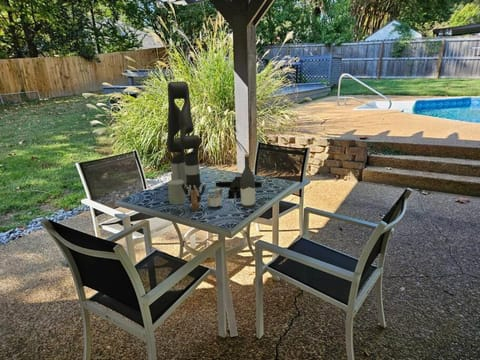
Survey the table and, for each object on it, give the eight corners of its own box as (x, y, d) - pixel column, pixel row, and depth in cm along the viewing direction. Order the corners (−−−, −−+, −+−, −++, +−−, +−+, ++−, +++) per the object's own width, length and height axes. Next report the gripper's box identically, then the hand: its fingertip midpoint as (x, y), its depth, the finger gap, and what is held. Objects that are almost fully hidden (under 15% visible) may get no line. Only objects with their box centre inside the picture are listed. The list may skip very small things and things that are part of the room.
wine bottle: (253, 201, 184) (252, 151, 175) (256, 207, 176) (255, 155, 167) (240, 203, 183) (238, 152, 173) (242, 208, 175) (240, 156, 166)
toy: (209, 190, 190) (218, 175, 219) (210, 199, 192) (218, 182, 220) (260, 190, 187) (262, 175, 216) (260, 199, 189) (262, 182, 217)
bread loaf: (191, 210, 176) (189, 190, 172) (193, 207, 179) (191, 187, 175) (197, 210, 175) (196, 190, 171) (200, 207, 178) (198, 187, 175)
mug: (206, 209, 176) (205, 196, 173) (213, 200, 188) (212, 187, 185) (219, 210, 174) (218, 196, 171) (225, 201, 186) (225, 188, 184)
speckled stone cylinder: (166, 201, 190) (164, 181, 186) (181, 197, 195) (179, 178, 191) (173, 205, 182) (171, 185, 178) (188, 201, 188) (186, 182, 184)
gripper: (177, 173, 168) (180, 203, 174) (202, 174, 165) (204, 205, 170) (183, 169, 175) (185, 198, 181) (207, 170, 172) (209, 200, 177)
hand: (195, 201), depth 175 cm, fingers closed on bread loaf, 4 cm apart
